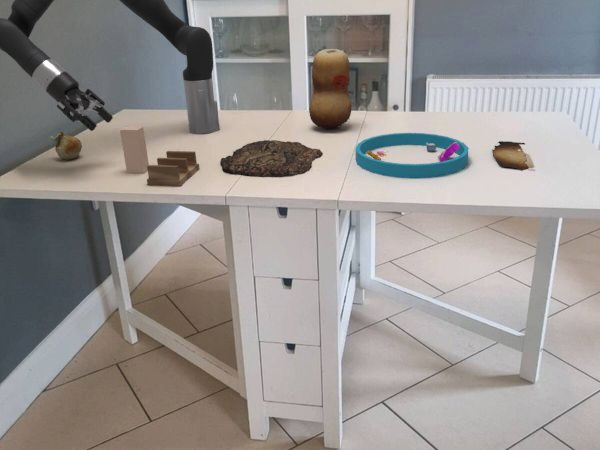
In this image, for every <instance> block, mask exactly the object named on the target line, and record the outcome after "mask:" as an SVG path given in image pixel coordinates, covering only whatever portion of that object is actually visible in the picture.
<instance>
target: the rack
mask: <svg viewBox="0 0 600 450" xmlns="http://www.w3.org/2000/svg"><path fill="white" fill-rule="evenodd" d="M165 153H166V157H157V159H156V162H157V163H156V164H149V165H148V166H147V170H148V171H147V176H148V178H146V183H147V186H162V187H163V186H165V187H167V186H168V187H182V186H183V185H184V184H185V183H186V182H187V181H188V180H189V179H190V178H191V177H193V175H194V174H195V173H197V172H198V171H199V170H200V164H199V163H197V155H196V154H197V153H196V151H190V150H189V151H185V150H183V151H182V150H167V151H166V152H165Z"/></svg>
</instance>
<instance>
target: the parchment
mask: <svg viewBox="0 0 600 450" xmlns="http://www.w3.org/2000/svg"><path fill="white" fill-rule="evenodd" d="M497 144H498V145H495V146H494V149H492V150H491V151H492V156H493V157H494V159H496V161H497V163H498V164H499V166H500V167H501V168H504V167H505V168H506V167H507V168H512V169H513V168H515V169H519V170H520V171H522V172H523V171H526V170H530V169H534V168H535V164H534V162H533V159H532V157H531V155H530V154H529V153H527V152H524V150H523V148H522V146H521V145H523V146H524V145H526V143H525V142H516V141H506V140H505V141H504V140H503V141H502V140H501V141H498V142H497Z"/></svg>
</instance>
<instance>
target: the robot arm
mask: <svg viewBox="0 0 600 450" xmlns="http://www.w3.org/2000/svg"><path fill="white" fill-rule="evenodd" d="M119 1H120V2H121V3H122V4H123V5H124V6H125V7H126V8H128V9H129V10H130V11H132V12H133V13H134V14H135V15H136V16H137V17H139V18H140V19H141V20H143V21H145V23H147V24H148V25H149V26H151V27H152V28H154V29H155V30H156V31H157V32H158V33H160V34H161V35H163V37H164V38H165V39H166V40H167V41H168V42H169V43H171V45H172V46H173V47H174V48H175V49H176V50H177V51H178V52H179V53H181V54H182V55H184V56H186V68H185V69H183V71H182V79H183V86H184V96H185V97H184V98H185V104H186V105H185V106H186V112H187V121H188V122H187V123H188V129H189V133H191V134H196V135H198V134H199V135H203V134H204V135H205V134H210V133H213V132H216V131H219V130H220V129H221V128H220V120H219V111H218V110H219V109H218V108H219V107H218V102H217V100H215V93H214V83H213V70H214V52H213V51H214V49H213V48H214V47H213V41H212V37H211V35H210V33H209V31H207V30H206V29H205V28H203V27H200V26H192V25H189V24H188V23H186V22H185V21H183V20H182V19H181V18H179V17H178V16H177V15H176V14H174V12H172V10H171V9H170V8H169V6H168V4H167V3H166V1H165V0H119ZM53 2H55V0H14V1H13V2H12V4H11V7H10V8H11V13H10V15H9V17H8V18H2V17H1V18H0V50H1V51H2V52H4V53H6V54H7V55H8V56H9V57H11V58H12V59H13V60H14V61H15V62H16V63H17V64H18V66H19V67H20V68H21V69H22V71H24V72H25V73H27V74H28V76H29V77H31V78H32V79H33V80H34V82H36V83H37V85H38V86H39V87H40V88H41V89H42V90H43V91H45V92H46V93H47V95H49V96H50V97H51V98H53V99H54V100H55V101H56V102H57V104H56V108H58V109H59V110H60V111H61V112H62V113H63V114H64V115H65V116H66V117H67V118H68V119H69V120H70V121H71V122H73V123H75V122H76V121H77V122H78V123H81V124H83V125H84V126H85V127H86V128H87V129H88V130H90V131H91V132H93V131H95V129H97V128H96V127H98V125H97V123H95V121H93V120H92V119H91V118H90V117H89V116H88V115H86V113H85V111H88V112H91V111H92V112H94V113H97V115H98V116H99V117H100V118H102V119H103V120H104V121H105V122H106V123H108V124H109V123H111V121H112V120H113V117H114V116H113V115H112V114H111V113H109V112H108V111H107V110H106V109H105V108H104V106H105V104H106V103H105V101H104V100H103V99H101V98H100V97H99V96H98V94H96V93H95V92H93V91H92V90H91V89H90V88H87V89H86V90H85V91H82V90H81V89H80V87H79V86H80V84H79V83H80V82H78V81H77V80H76V79H75V78H74V77H73V76H72V75H71V74H70V73H68V71H66V70H65V69H64V68H63V67H62V66H61V65H60V64H59V63H57V62H56V61H55V60H53V59H52V58H51V57H50V56H49V55H47V54H46V52H44V51H43V50H42V49H41V48H40V47H38V46H37V45H36V44H34V42H33V41H32V40H30V38H29V37H30V36H31V35H32V32H33V31H34V29H35V25H36V24H37V23H38V21H40V19H41V18H42V17H43V15H44V14H45V13H46V11H48V8H50V6H51V5H52V4H53Z"/></svg>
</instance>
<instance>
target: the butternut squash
mask: <svg viewBox="0 0 600 450" xmlns="http://www.w3.org/2000/svg"><path fill="white" fill-rule="evenodd" d="M312 61H313V62H312V72H311V79H312V88H313V95H312V98H311V100H310V104H309V109H308V110H309V112H308V113H309V118H310V120H311V122H312V123H313V124H314V125H315V126H317V127H319V128H322V129H328V130H331V129H332V130H333V129H338V128H339V127H341V126H343V125H344V124H345V123H347V122H348V120H350V117H351V114H352V101H351V97H350V95H349V91H348V88H349V85H350V84H349V83H350V81H351V80H350V79H351V78H350V59H349V56H348V55H347V54H346V53H345V52H344V51H343V50H342V49H336V48H325V49H322V50H320V51H318V52H317V53H316V54H315V55H314V58H313V59H312Z"/></svg>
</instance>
